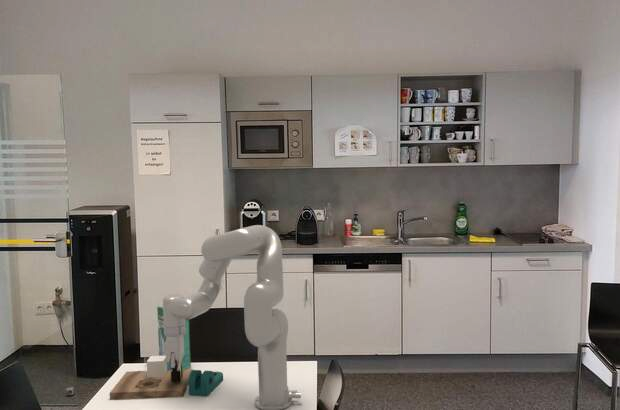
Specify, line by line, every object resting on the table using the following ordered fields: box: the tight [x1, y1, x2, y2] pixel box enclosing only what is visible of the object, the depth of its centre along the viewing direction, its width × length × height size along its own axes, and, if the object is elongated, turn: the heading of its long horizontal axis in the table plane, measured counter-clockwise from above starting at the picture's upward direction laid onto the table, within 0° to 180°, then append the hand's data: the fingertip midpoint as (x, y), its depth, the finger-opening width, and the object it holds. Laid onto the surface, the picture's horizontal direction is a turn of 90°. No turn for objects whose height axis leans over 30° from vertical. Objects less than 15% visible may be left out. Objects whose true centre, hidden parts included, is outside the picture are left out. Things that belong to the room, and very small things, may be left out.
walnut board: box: [109, 368, 194, 401], centre depth 198 cm, size 25×20×2 cm
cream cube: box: [146, 355, 167, 378], centre depth 204 cm, size 6×6×6 cm
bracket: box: [188, 369, 224, 398], centre depth 198 cm, size 18×7×8 cm, turn 168°
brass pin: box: [173, 361, 181, 384], centre depth 195 cm, size 3×3×8 cm
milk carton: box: [156, 306, 192, 370], centre depth 217 cm, size 9×9×25 cm
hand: (177, 379), depth 195 cm, fingers closed on brass pin, 3 cm apart
